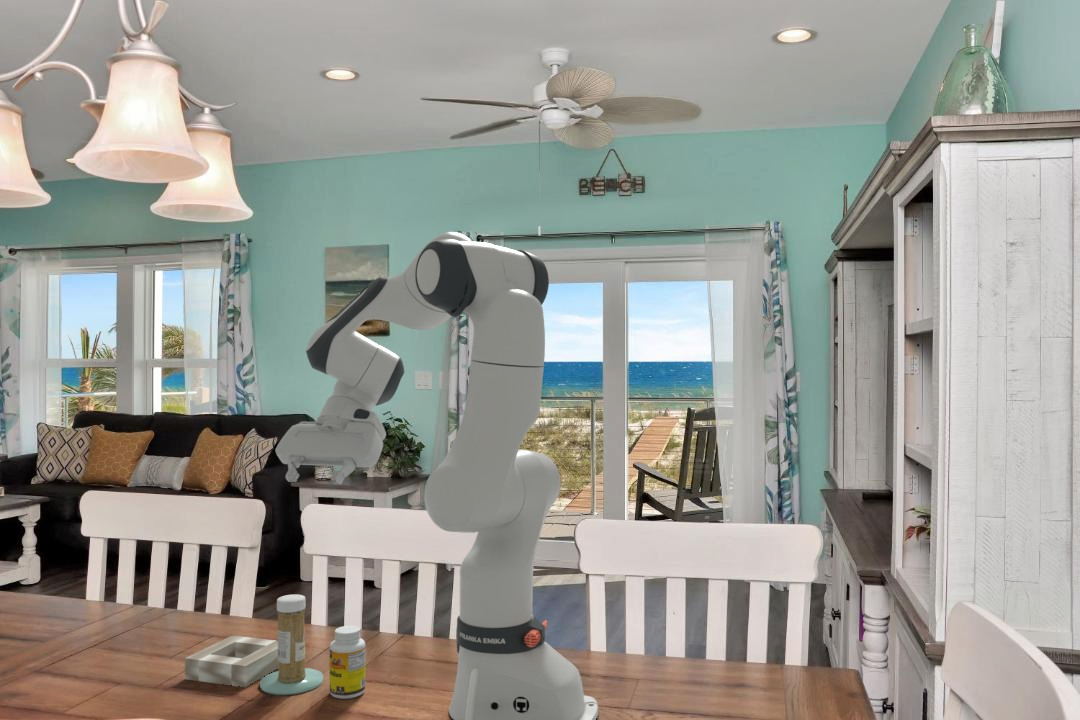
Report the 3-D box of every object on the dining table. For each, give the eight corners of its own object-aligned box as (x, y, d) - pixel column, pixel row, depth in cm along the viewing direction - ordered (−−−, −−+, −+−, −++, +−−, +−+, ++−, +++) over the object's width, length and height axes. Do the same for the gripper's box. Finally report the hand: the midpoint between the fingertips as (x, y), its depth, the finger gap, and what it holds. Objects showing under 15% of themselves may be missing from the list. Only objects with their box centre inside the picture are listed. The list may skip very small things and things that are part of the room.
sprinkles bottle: (309, 680, 136) (309, 598, 136) (281, 686, 134) (281, 602, 134) (300, 671, 140) (300, 591, 140) (273, 677, 138) (273, 596, 138)
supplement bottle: (324, 692, 133) (323, 628, 133) (356, 683, 136) (356, 621, 136) (338, 703, 129) (338, 637, 129) (371, 694, 132) (371, 630, 132)
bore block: (289, 661, 146) (289, 642, 146) (245, 687, 135) (245, 666, 135) (232, 654, 150) (232, 635, 150) (185, 679, 138) (184, 658, 138)
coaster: (334, 675, 140) (334, 671, 140) (300, 698, 130) (300, 694, 130) (284, 668, 143) (284, 665, 143) (246, 690, 134) (246, 686, 134)
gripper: (288, 411, 160) (256, 468, 151) (382, 413, 154) (355, 472, 145) (301, 432, 164) (271, 488, 155) (394, 434, 158) (368, 494, 149)
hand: (312, 481), depth 150 cm, fingers open, 8 cm apart
